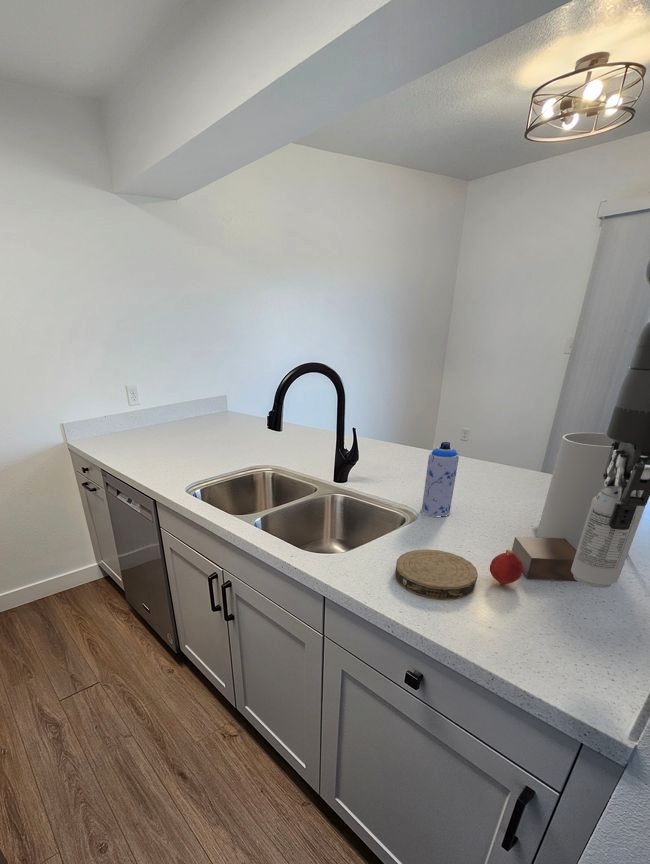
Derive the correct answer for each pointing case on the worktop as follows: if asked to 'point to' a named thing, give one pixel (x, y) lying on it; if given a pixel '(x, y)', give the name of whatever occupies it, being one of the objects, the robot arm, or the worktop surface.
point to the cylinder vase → (574, 485)
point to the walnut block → (545, 558)
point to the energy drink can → (603, 542)
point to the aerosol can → (440, 481)
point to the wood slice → (436, 574)
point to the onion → (506, 568)
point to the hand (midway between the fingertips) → (612, 519)
